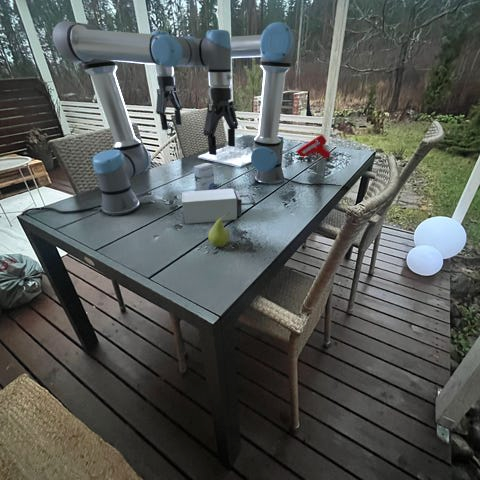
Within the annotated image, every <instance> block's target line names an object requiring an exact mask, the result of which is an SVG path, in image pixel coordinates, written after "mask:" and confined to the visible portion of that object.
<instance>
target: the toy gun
mask: <svg viewBox="0 0 480 480" xmlns="http://www.w3.org/2000/svg"><path fill="white" fill-rule="evenodd" d="M326 143H327V139H326V137H325V136H324V135H323V133H321V134H319V135H318V136H316V137H314V138H313V139H311V140H310V141H308V142H307V143H306V144H304V145H302V146H301V147H299V148H298V149H297V150H296V153H297V154H298V156H299V157H300V156H305V157H307V156H308V155H310V154H311V155H312V156H316V155H318V154H319V155H320V156H321V157H323V160H324V161H325V160H326V159H327V157H328V159H329V158H330V156H331V151H330V150H328V149H327V148H326V147H324V146H325V145H326ZM305 157H300V159H304V158H305ZM324 158H326V159H324Z"/></svg>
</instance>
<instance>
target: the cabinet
mask: <svg viewBox="0 0 480 480" xmlns="http://www.w3.org/2000/svg"><path fill="white" fill-rule="evenodd" d="M181 205H182V212H183V213H182V214H183V221H184V224H185V225H188V224H200V223H211V222H217V220H219V219H220V218H222V217H224V216H225V215H226V214H227V213H228V212H229V214H228V215H227V216H225V217H224V218H223V221H235V220H238V213H237V198H236V196H235V190H234V188H232V187H231V188H219V189H218V188H217V189H208V190H202V191H199V190H190V191H182V192H181ZM223 221H222V222H223Z"/></svg>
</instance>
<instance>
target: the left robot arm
mask: <svg viewBox="0 0 480 480" xmlns="http://www.w3.org/2000/svg"><path fill="white" fill-rule="evenodd" d="M182 37H183V36H176V35H172V34H169V35H168V34H162V35H155V34H151V33H144V32H143V33H141V32H127V31H115V30H107V29H106V28H105V27H102V26H99V25H96V24H93V23H91V24H89V23H83V22H77V21H76V22H75V21H71V20H63V21H60V22H58V23H57V24H56V25H55V26H54V28H53V30H52V42H53V45H54V47H55V49H56V50H57V52H58V54H59V55H61V57H63V58H64V59H65V60H67V61H69V62H71V63H74V64H81V65H82V67H83V70H84V72H85V73H86V74H88V75H90V77H91V80H92V82H93V86H94V89H95V91H96V93H97V96H98V99H99V102H100V104H101V105H100V106H101V108H102V110H103V113H104V117H105V118H106V121H107V124H108V127H109V130H110V132H111V135H112V138H113V140H114V142H113V145H112V149H106V150H103V151H100V152H97V153H96V154H95V155H94V156H93V157H92V166H93V171H94V173H95V177H96V179H97V183H98V185H99V189H100V192H101V201H100V202H101V204H98V205H94V206H90V207H86V208H81V209H75V210H59V209H56V208H54V207H50V206H49V207H47V206H46V207H31V208H27V209H25V210H24V211H23V212H21V214H20V216H24V215H26V214H27V213H28V212H33V211H45V210H49V211H54V212H56V213H59V214H76V213H81V212H87V211H92V210H94V209H98V208H100V209H101V211H102V213H103V215H106V216H108V217H109V216H110V217H119V216H120V217H121V216H125V215H128V214H131V213H134V212H136V211H138V209H139V208H140V207H141V205H140V200H139V199H138V197H137V196H136V194H135V192H134V190H133V189H132V185H131V181H130V180H131V179H132V178H135V177H136V176H138V175H140V174H143V173H144V172H145V171H147V170H148V169H149V167H150V166H151V162H152V157H151V153H150V151H149V149H148V148H146V147H145V146H144V145H143V144H142V142H141V140H140V139H138V138H137V137H136V135H135V132H134V129H133V125H132V122H131V119H130V116H129V113H128V110H127V107H126V103H125V101H124V96H123V94H122V90H121V88H120V85H119V82H118V81H119V80H118V79H117V75H116V71H117V69H118V65H117V62H125V63H134V64H145V65H154V66H155V65H162V66H165V67H173V68H174V67H183V68H188V67H207V68H208V86H210V88H209V99H210V100H211V101H212V103H211V104H208V103H207V105H206V107H207V109H206V115H205V122H204V128H203V133H202V134H203V136H205V137H207V144H208V152H209V154H211V155H216V150H217V138H216V137H217V136H216V135H215V134H216V130H217V128H218V125H219V122H220V120H222V118H224V120H225V122H226V125H227V126H228V128H227V146H231V147H235V146H236V130H237V129H238V126H239V122H238V117H237V115H236V111H235V104H234V103H235V102H234V100H232V99H233V98H232V87H231V86H232V58H231V42H230V37H231V34H230V32H229V31H228V30H225V29H209V30H207V31H206V35H205V38H204V37H203V38H204V39H203V38H196V39H188V38H182ZM40 208H41V209H40Z"/></svg>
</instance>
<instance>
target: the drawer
mask: <svg viewBox="0 0 480 480" xmlns="http://www.w3.org/2000/svg"><path fill="white" fill-rule="evenodd" d="M234 193H235V196H236V198H237V217H242V215H243V214H242V206H250V205H252V206H255V205H256V201H255V199H254V197H253V195H252V193H248V194H240V193H239V191H238V190H234ZM244 197H245V198H246V197H248V199H249V201H250V202H242V198H244Z"/></svg>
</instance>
